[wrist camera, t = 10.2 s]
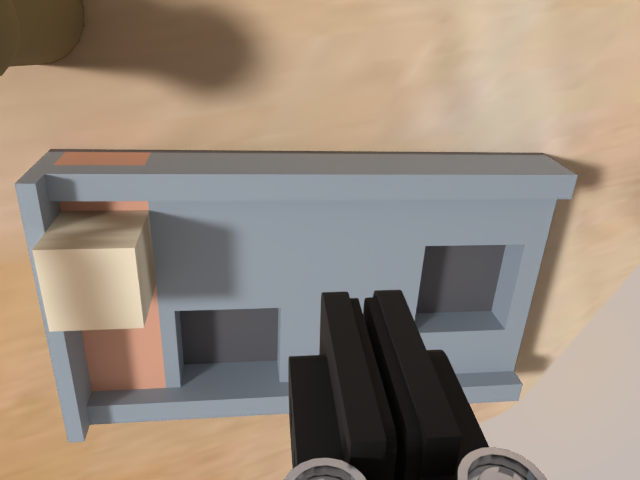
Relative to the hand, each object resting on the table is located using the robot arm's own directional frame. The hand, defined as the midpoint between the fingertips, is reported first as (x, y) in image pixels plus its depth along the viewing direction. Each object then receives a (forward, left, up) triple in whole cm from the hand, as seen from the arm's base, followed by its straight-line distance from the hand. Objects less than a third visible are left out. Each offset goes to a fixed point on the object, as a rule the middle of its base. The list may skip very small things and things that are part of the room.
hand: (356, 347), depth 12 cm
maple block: (+10, +9, -22) cm, 26 cm away
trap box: (-2, +12, -25) cm, 28 cm away
